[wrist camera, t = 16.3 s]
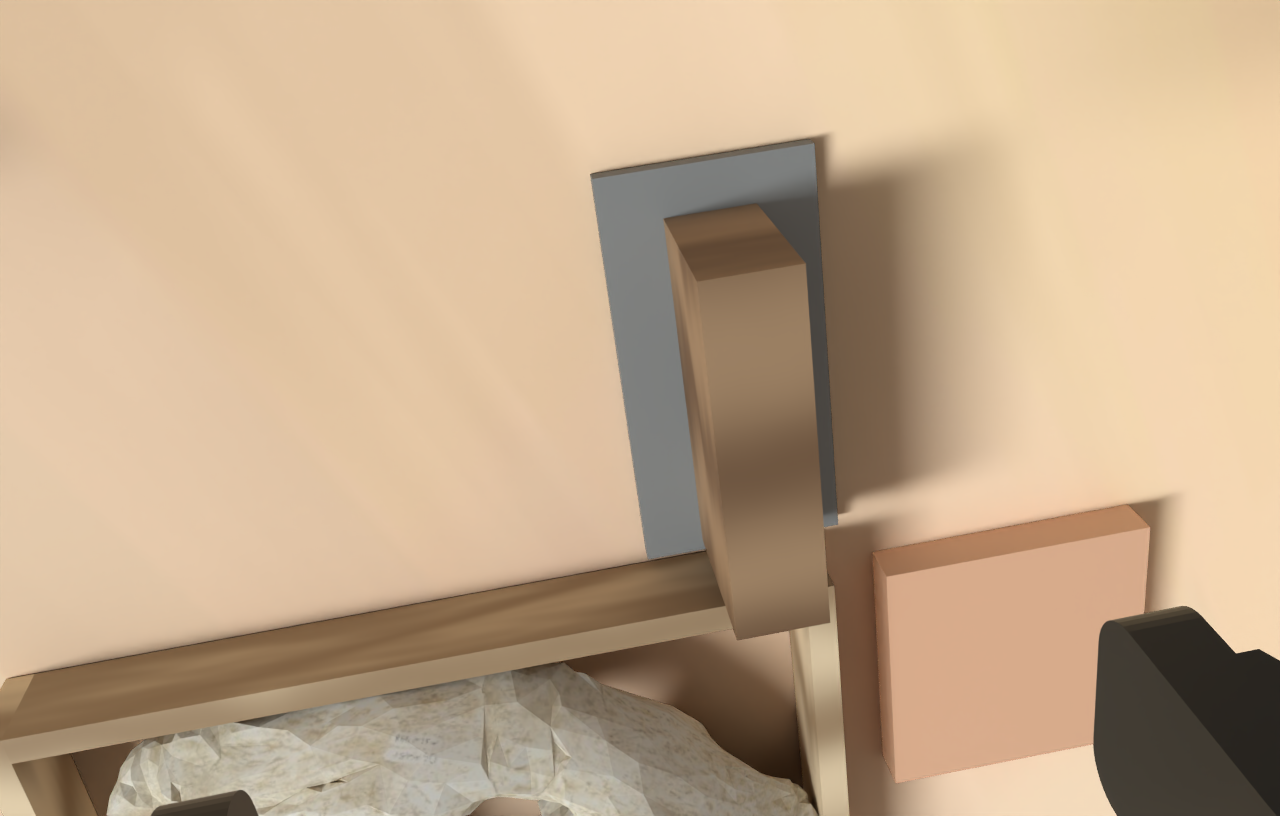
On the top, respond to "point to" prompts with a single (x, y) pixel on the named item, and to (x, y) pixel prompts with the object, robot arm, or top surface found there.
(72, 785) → the wooden tray
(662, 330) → the mat
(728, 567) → the brown rectangular block
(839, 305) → the top surface
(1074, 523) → the tile
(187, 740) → the sculpture
